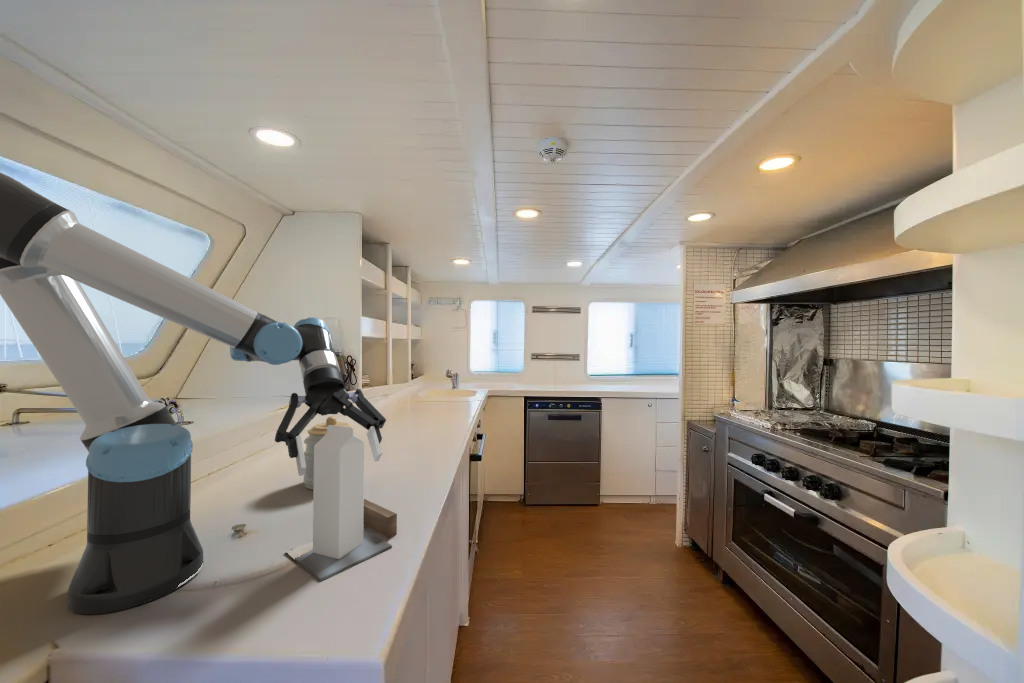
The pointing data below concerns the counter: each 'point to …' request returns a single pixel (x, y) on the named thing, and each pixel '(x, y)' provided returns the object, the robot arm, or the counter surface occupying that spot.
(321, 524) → the milk
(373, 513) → the guide jig
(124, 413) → the robot arm
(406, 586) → the counter surface
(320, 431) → the jar
